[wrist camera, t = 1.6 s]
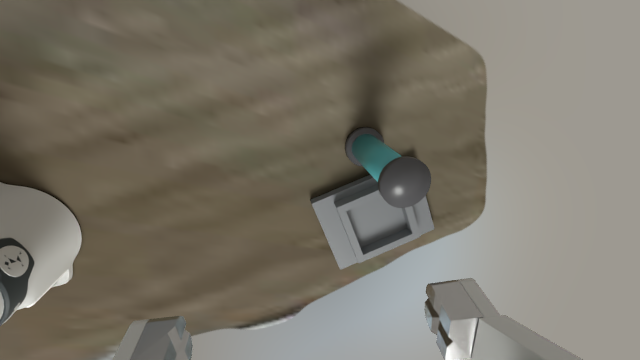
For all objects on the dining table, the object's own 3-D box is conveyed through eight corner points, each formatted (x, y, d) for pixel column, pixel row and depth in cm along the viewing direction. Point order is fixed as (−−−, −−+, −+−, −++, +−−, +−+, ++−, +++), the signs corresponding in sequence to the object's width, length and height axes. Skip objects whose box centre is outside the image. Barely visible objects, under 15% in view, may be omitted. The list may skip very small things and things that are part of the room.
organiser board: (338, 264, 60) (343, 276, 57) (310, 199, 54) (313, 209, 51) (430, 224, 60) (440, 234, 57) (411, 156, 55) (421, 163, 52)
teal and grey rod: (351, 169, 54) (388, 215, 39) (339, 136, 51) (374, 171, 37) (386, 155, 54) (435, 195, 39) (375, 121, 51) (424, 150, 37)
